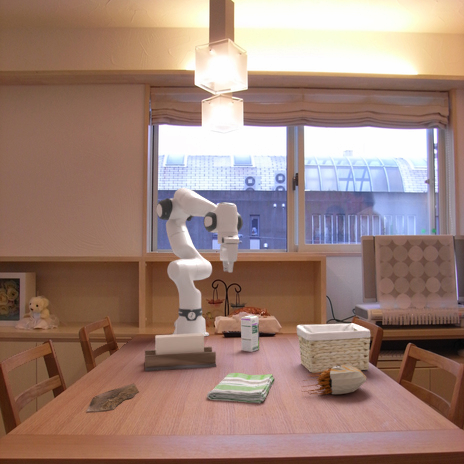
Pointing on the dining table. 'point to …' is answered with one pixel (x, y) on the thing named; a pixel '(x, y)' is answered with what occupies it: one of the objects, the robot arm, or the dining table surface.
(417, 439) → the dining table surface
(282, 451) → the dining table surface
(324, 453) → the dining table surface
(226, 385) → the dish towel
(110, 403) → the wooden fragment
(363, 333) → the storage basket
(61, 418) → the dining table surface
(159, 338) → the white rectangular block
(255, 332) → the syrup box
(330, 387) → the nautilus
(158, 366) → the slot rack
